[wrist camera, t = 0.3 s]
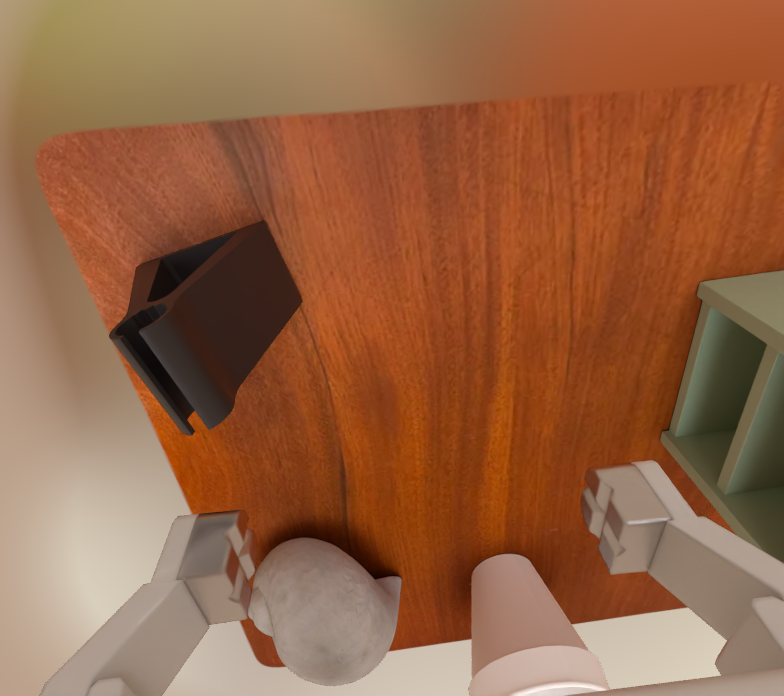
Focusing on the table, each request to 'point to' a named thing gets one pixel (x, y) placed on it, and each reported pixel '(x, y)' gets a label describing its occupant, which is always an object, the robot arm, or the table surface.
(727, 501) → the shelf
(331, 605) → the seashell
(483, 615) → the cup
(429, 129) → the table surface
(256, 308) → the phone stand
